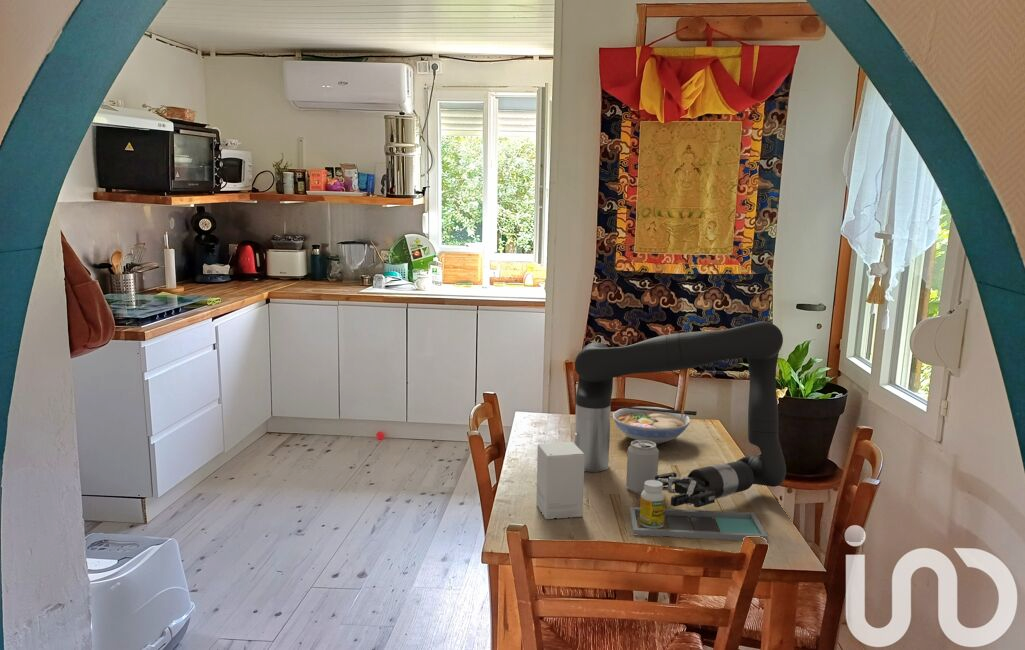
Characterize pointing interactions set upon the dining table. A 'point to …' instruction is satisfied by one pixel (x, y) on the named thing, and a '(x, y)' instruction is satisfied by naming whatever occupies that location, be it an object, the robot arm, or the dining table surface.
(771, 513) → the dining table surface
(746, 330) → the robot arm
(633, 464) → the can
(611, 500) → the dining table surface
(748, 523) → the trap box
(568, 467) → the supplement box
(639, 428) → the ramen bowl
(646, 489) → the supplement bottle
